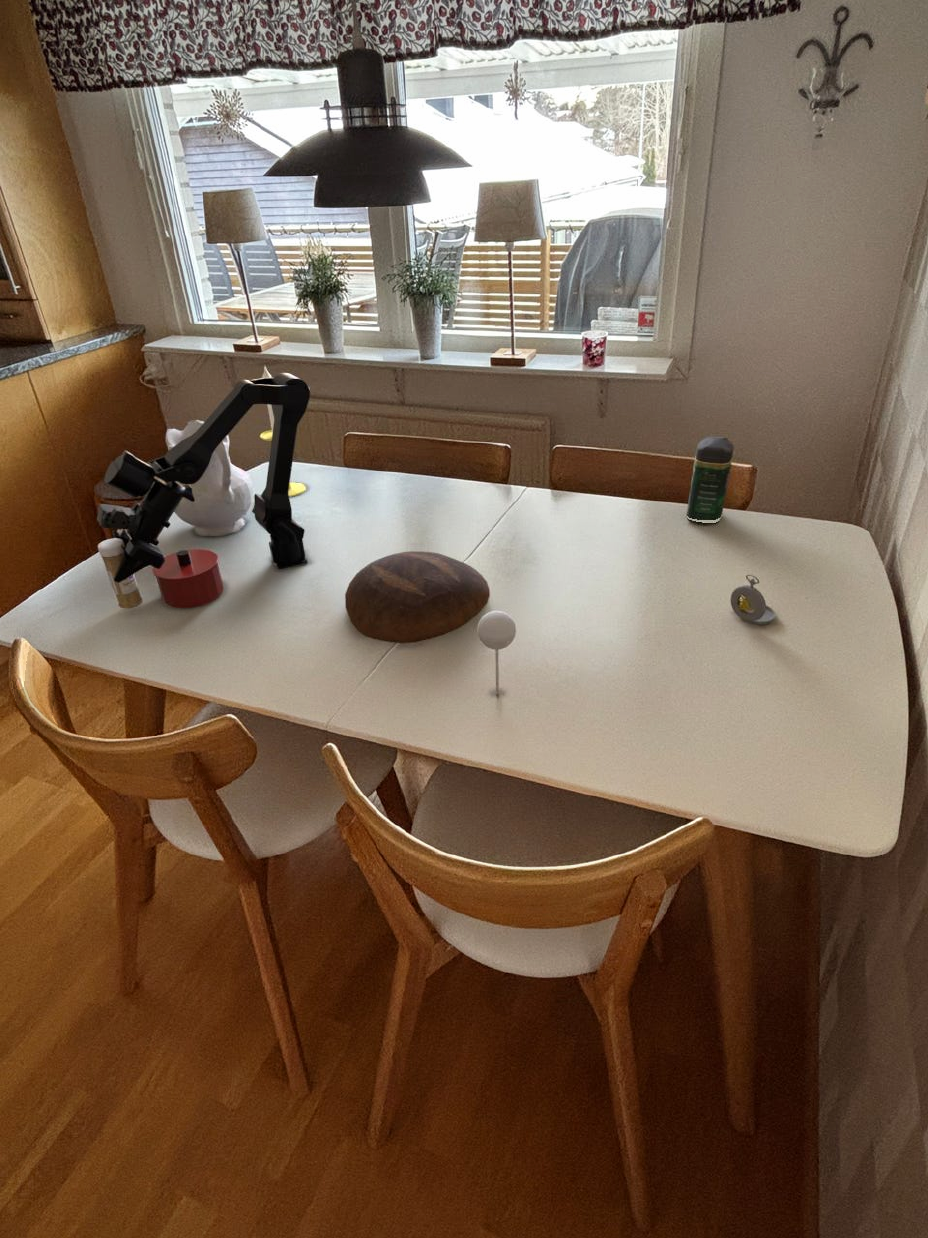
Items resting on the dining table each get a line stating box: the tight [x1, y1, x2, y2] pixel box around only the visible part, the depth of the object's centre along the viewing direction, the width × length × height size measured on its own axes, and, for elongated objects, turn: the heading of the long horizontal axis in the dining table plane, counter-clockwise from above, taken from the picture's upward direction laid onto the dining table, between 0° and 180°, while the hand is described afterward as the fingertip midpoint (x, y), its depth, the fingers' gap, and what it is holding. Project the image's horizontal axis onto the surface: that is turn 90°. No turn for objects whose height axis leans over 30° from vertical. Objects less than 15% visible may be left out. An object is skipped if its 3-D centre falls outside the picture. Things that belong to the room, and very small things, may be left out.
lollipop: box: [476, 610, 517, 695], centre depth 112 cm, size 6×6×15 cm
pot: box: [155, 563, 224, 609], centre depth 145 cm, size 12×12×6 cm
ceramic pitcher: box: [165, 419, 254, 537], centre depth 167 cm, size 22×20×25 cm
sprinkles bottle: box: [97, 537, 144, 610], centre depth 139 cm, size 5×5×14 cm
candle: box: [259, 366, 307, 498], centre depth 183 cm, size 10×10×32 cm
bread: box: [344, 550, 491, 644], centre depth 137 cm, size 28×27×9 cm
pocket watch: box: [729, 574, 777, 625], centre depth 129 cm, size 8×8×10 cm
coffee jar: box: [686, 435, 734, 526], centre depth 163 cm, size 10×8×19 cm
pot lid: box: [151, 548, 220, 581], centre depth 143 cm, size 13×13×4 cm
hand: (113, 576), depth 138 cm, fingers closed on sprinkles bottle, 4 cm apart
